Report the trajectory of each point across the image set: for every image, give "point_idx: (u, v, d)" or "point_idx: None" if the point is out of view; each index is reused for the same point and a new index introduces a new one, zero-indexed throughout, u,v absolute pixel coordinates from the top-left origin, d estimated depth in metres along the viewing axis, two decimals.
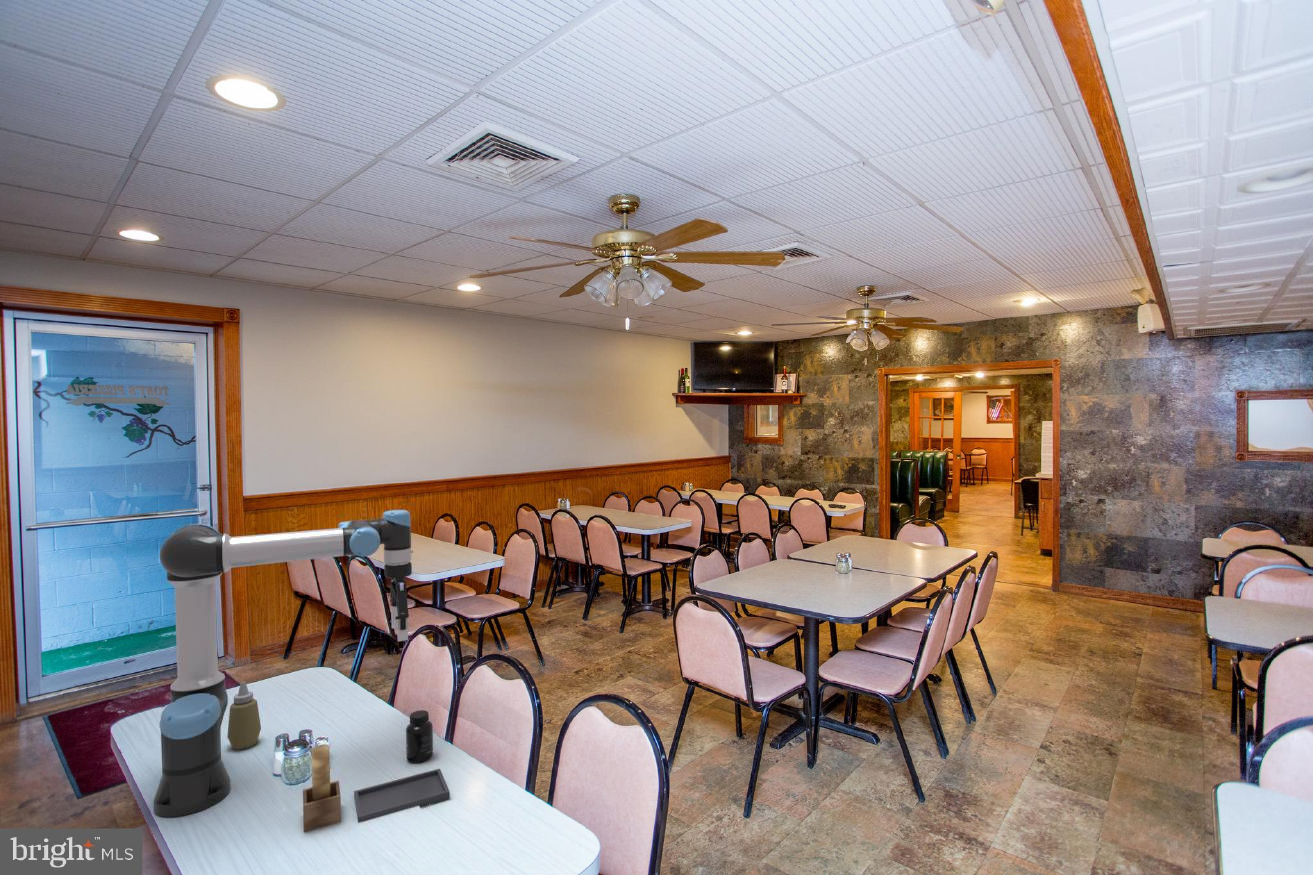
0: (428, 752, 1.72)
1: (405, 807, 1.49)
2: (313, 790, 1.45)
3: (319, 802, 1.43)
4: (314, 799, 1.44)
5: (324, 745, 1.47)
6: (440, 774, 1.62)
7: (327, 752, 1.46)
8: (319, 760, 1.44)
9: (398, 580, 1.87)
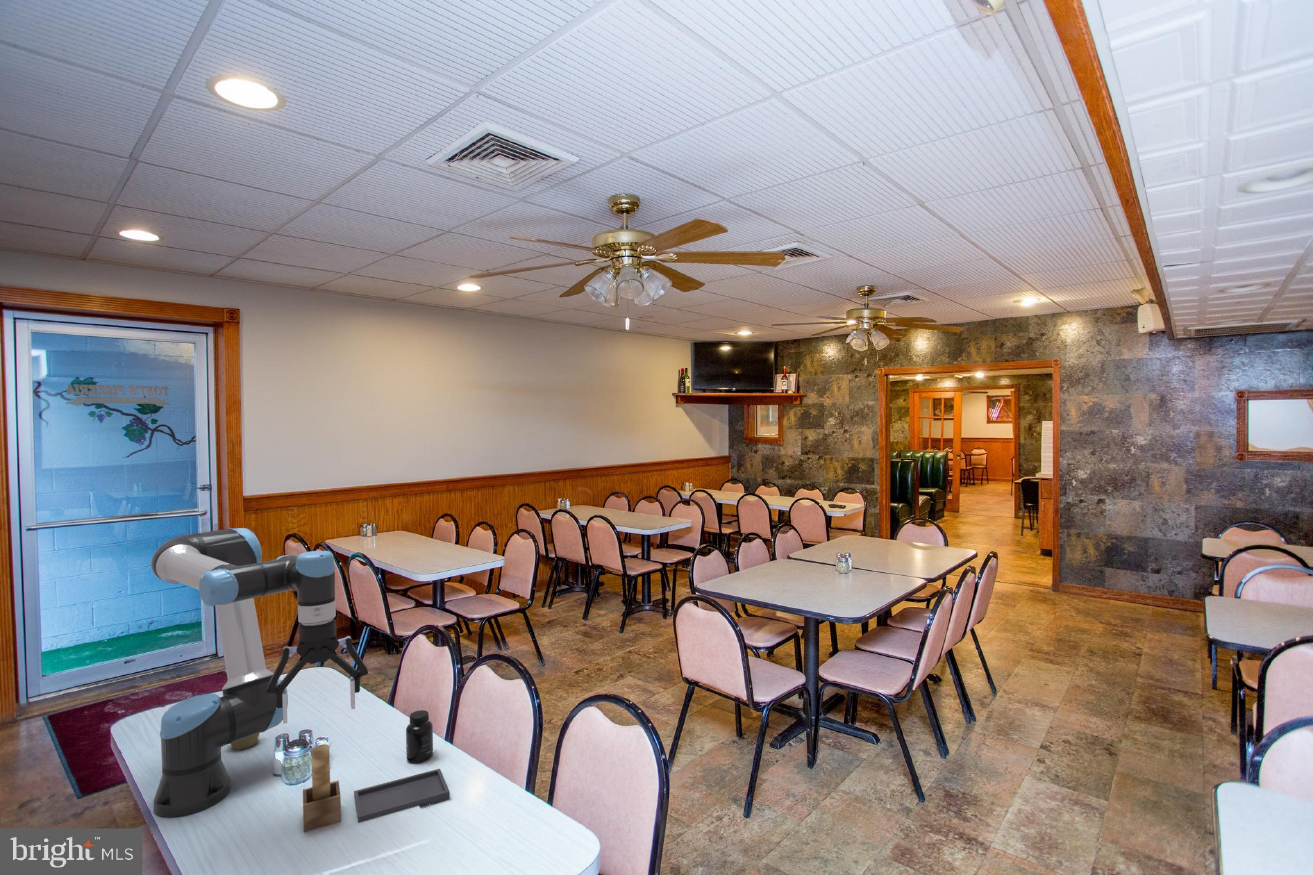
0: (428, 752, 1.72)
1: (405, 807, 1.49)
2: (313, 790, 1.45)
3: (319, 802, 1.43)
4: (314, 799, 1.44)
5: (324, 745, 1.47)
6: (440, 774, 1.62)
7: (327, 752, 1.46)
8: (319, 760, 1.44)
9: None
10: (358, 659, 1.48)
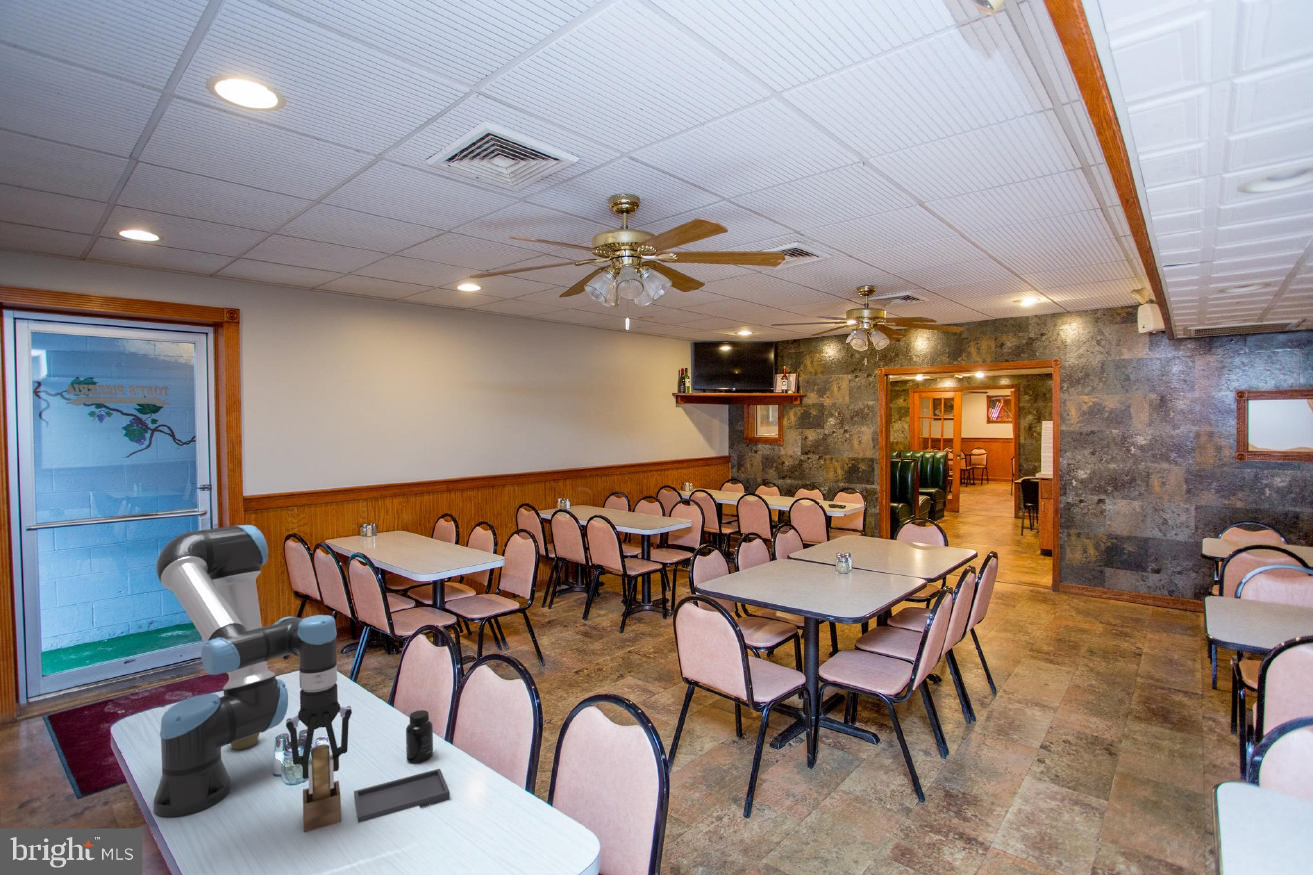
0: (428, 752, 1.72)
1: (405, 807, 1.49)
2: (313, 790, 1.45)
3: (319, 802, 1.43)
4: (314, 799, 1.44)
5: (324, 745, 1.47)
6: (440, 774, 1.62)
7: (327, 752, 1.46)
8: (319, 760, 1.44)
9: None
10: (346, 734, 1.47)
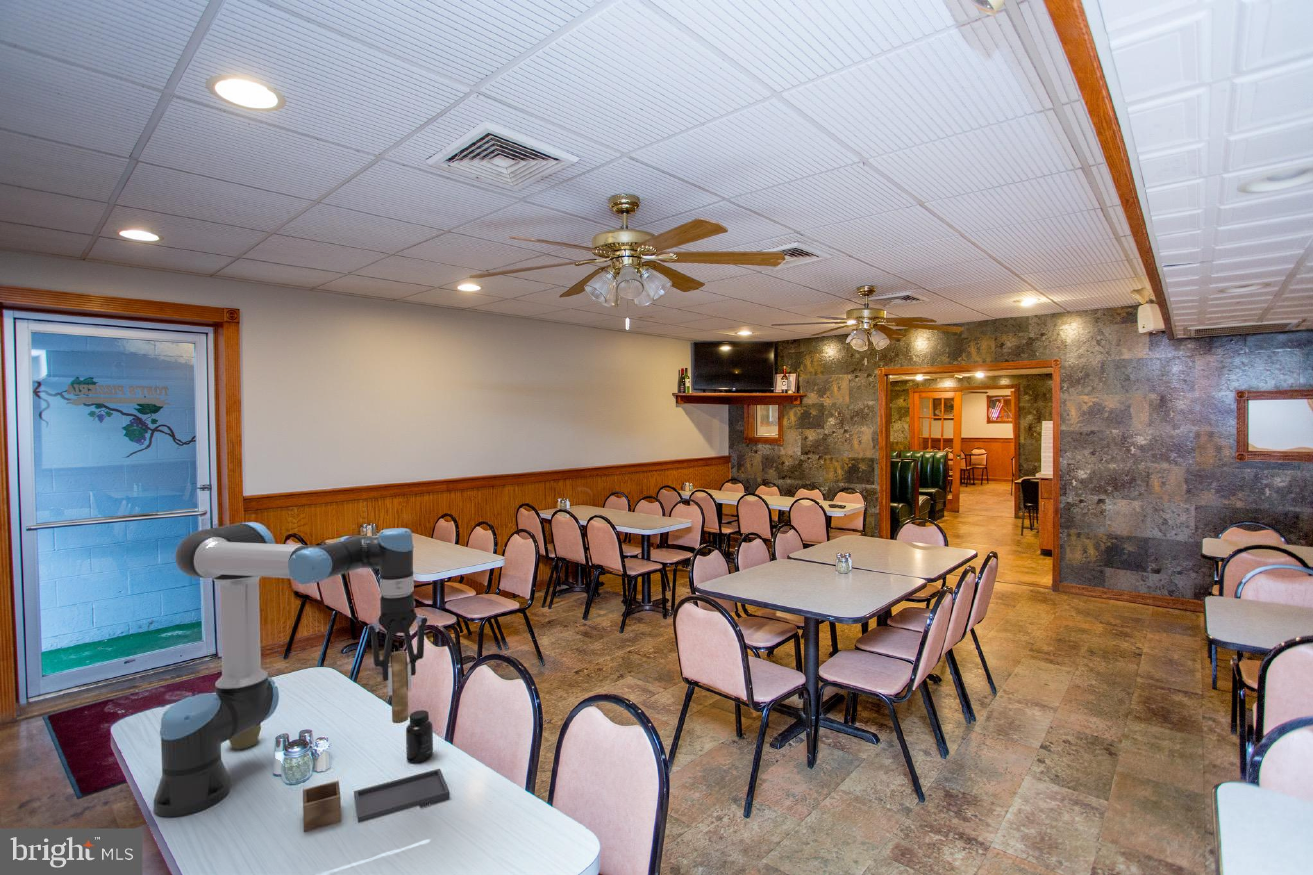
0: (428, 752, 1.72)
1: (405, 807, 1.49)
2: (392, 692, 1.52)
3: (319, 802, 1.43)
4: (393, 701, 1.52)
5: (401, 651, 1.55)
6: (440, 774, 1.62)
7: (405, 657, 1.53)
8: (398, 664, 1.52)
9: None
10: (422, 641, 1.55)
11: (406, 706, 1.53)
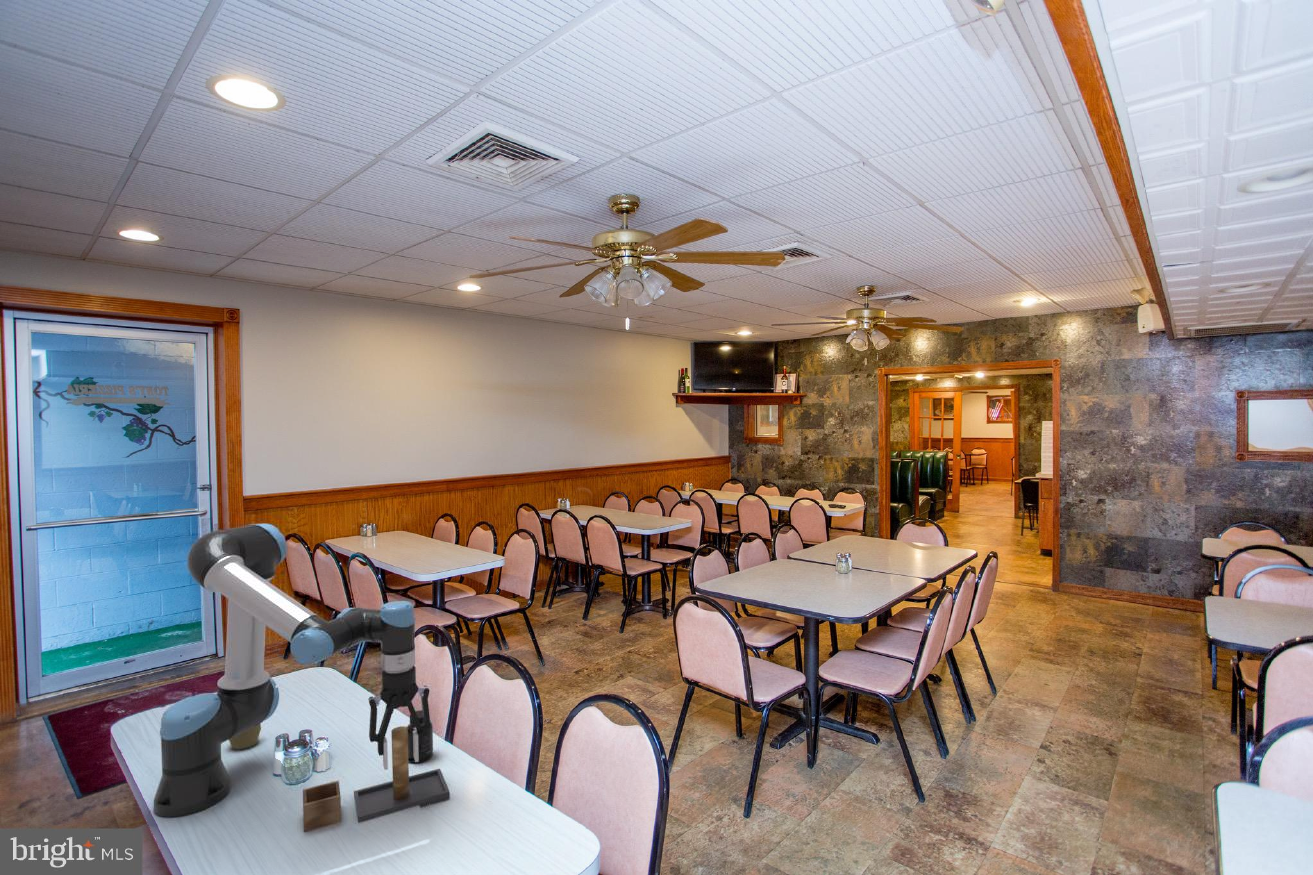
0: (428, 752, 1.72)
1: (405, 807, 1.49)
2: (393, 769, 1.53)
3: (319, 802, 1.43)
4: (394, 778, 1.53)
5: (402, 727, 1.55)
6: (440, 774, 1.62)
7: (406, 733, 1.54)
8: (399, 741, 1.52)
9: None
10: (427, 711, 1.56)
11: (407, 782, 1.54)
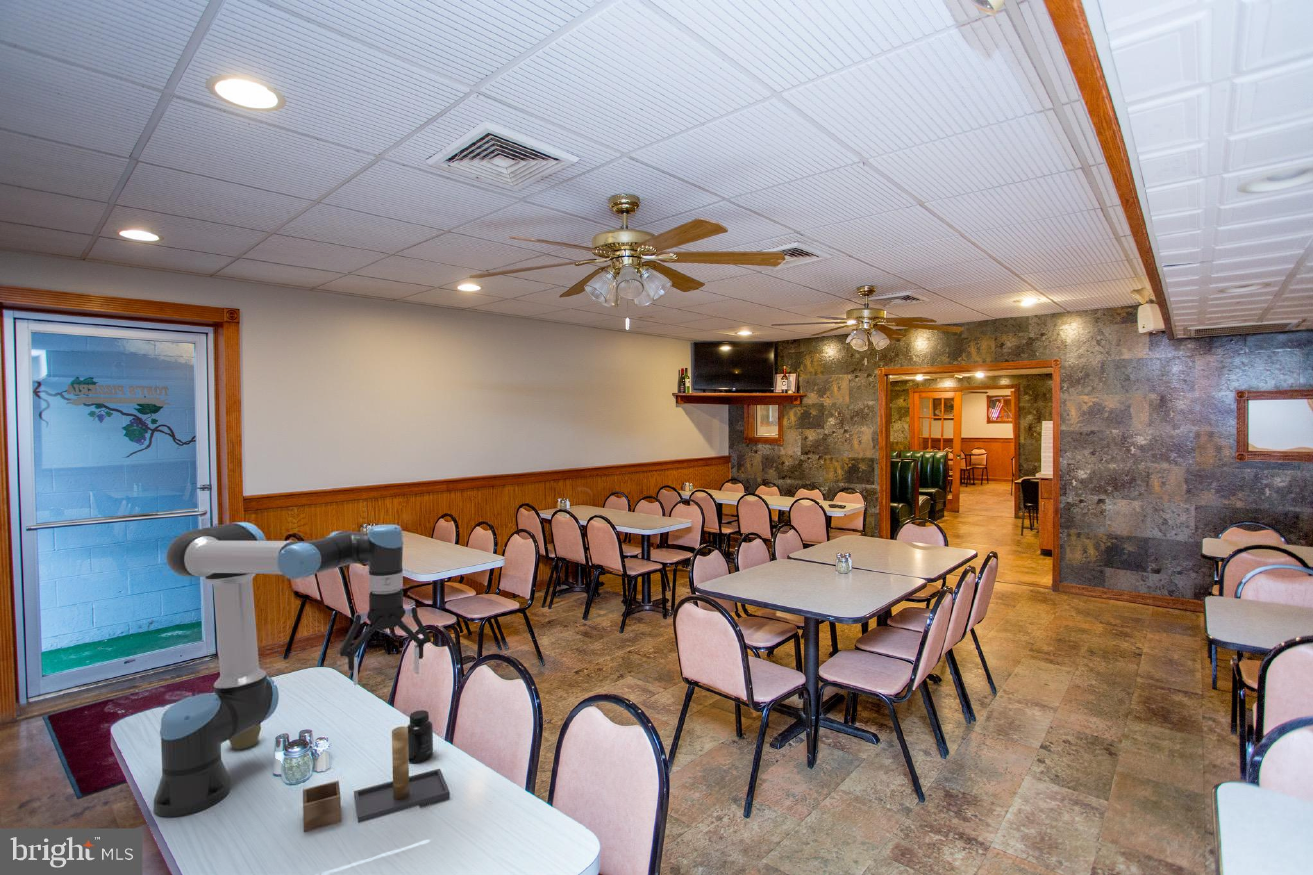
0: (428, 752, 1.72)
1: (405, 807, 1.49)
2: (393, 769, 1.53)
3: (319, 802, 1.43)
4: (394, 778, 1.53)
5: (403, 727, 1.55)
6: (440, 774, 1.62)
7: (406, 734, 1.54)
8: (399, 741, 1.52)
9: (369, 610, 1.53)
10: (422, 627, 1.57)
11: (407, 782, 1.54)
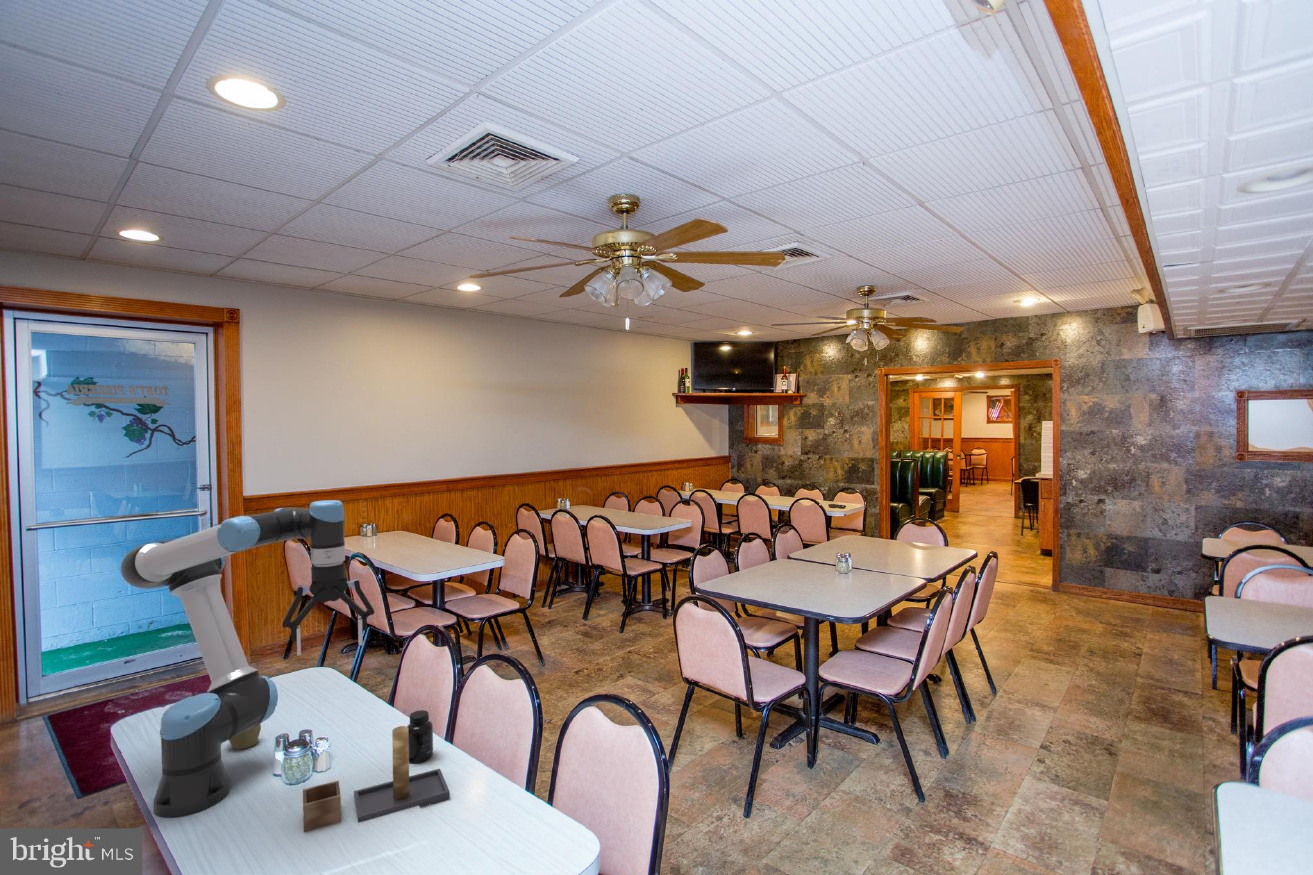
0: (428, 752, 1.72)
1: (405, 807, 1.49)
2: (394, 769, 1.53)
3: (319, 802, 1.43)
4: (395, 777, 1.53)
5: (403, 727, 1.55)
6: (440, 774, 1.62)
7: (407, 733, 1.54)
8: (400, 740, 1.52)
9: (311, 583, 1.57)
10: (365, 600, 1.62)
11: (407, 782, 1.54)
